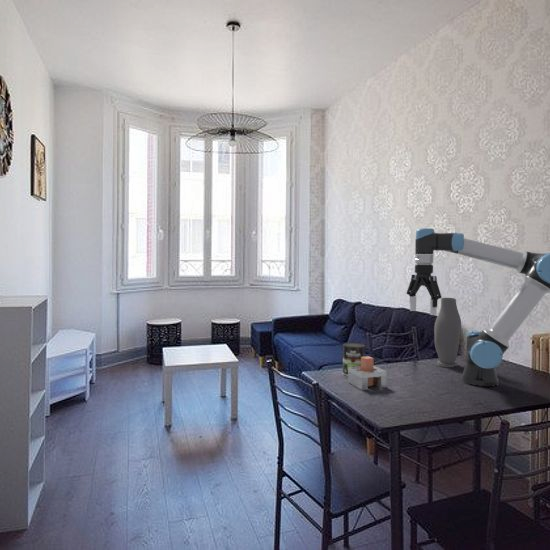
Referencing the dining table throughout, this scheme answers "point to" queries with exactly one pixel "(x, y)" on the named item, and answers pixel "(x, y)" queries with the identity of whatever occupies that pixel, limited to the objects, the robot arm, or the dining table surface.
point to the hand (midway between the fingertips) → (422, 312)
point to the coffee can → (352, 355)
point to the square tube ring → (366, 377)
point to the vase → (447, 333)
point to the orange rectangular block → (368, 367)
